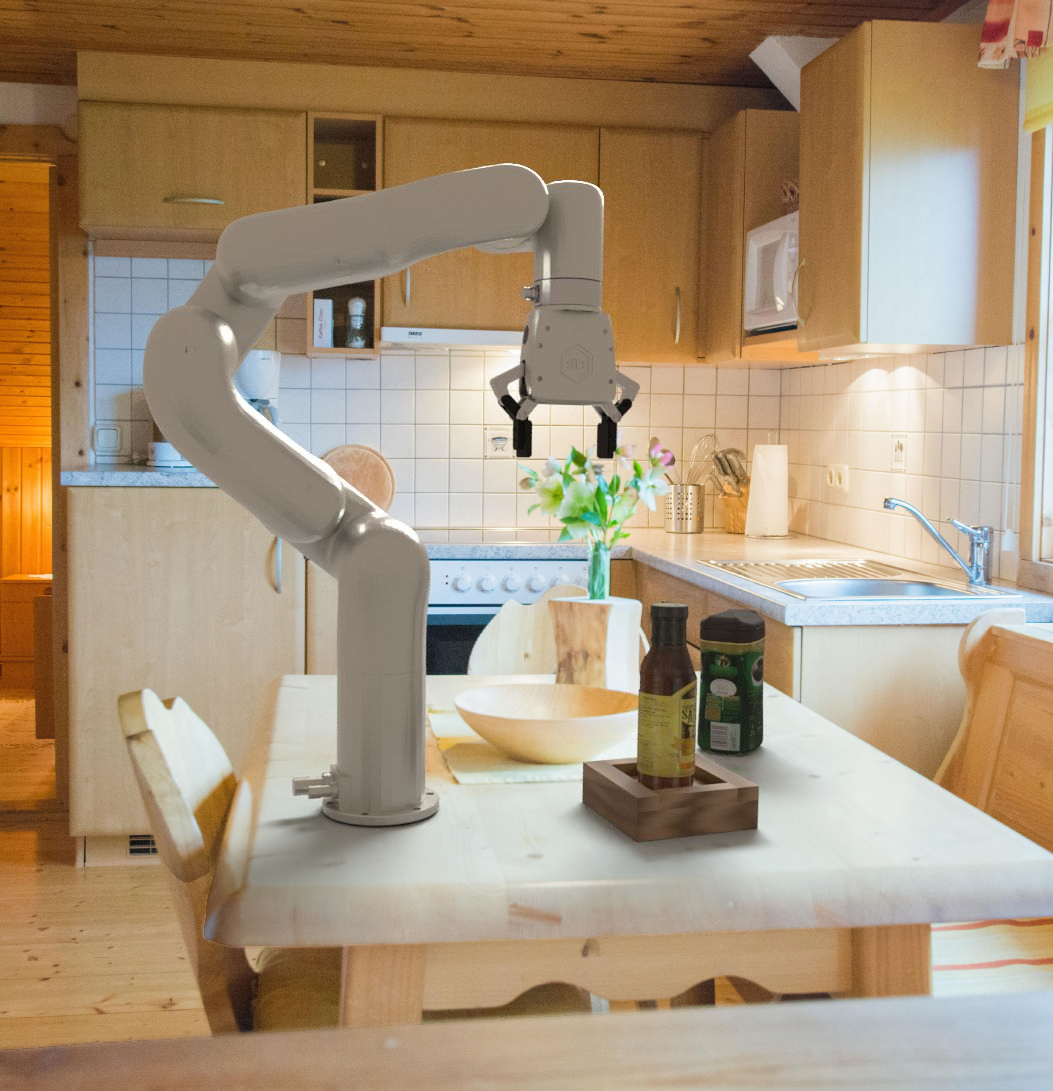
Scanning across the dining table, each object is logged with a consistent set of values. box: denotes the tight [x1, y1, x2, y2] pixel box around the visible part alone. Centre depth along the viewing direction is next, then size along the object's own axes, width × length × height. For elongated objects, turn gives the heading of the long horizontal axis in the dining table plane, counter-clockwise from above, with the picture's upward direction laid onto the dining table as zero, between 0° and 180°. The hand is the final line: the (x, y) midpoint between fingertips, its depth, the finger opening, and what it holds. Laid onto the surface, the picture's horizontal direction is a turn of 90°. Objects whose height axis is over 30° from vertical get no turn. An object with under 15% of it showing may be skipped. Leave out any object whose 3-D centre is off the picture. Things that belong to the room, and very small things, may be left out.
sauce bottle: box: [636, 602, 698, 790], centre depth 122 cm, size 7×6×20 cm
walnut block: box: [581, 752, 760, 843], centre depth 123 cm, size 14×14×4 cm
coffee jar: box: [696, 608, 766, 756], centre depth 151 cm, size 10×8×19 cm
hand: (564, 458), depth 125 cm, fingers open, 9 cm apart
